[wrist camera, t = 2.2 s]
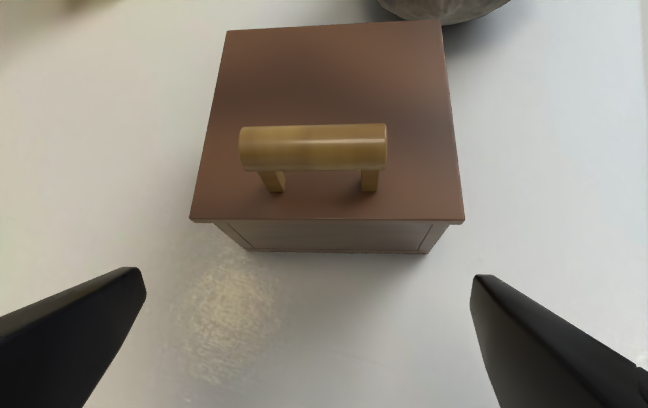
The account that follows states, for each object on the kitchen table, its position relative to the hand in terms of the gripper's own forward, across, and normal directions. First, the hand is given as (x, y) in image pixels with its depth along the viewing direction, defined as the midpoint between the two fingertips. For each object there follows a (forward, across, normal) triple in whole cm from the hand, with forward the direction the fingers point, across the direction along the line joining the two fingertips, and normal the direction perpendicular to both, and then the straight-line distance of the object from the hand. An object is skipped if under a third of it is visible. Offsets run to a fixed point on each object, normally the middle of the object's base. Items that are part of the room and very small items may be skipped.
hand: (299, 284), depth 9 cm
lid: (+10, 0, -3) cm, 10 cm away
